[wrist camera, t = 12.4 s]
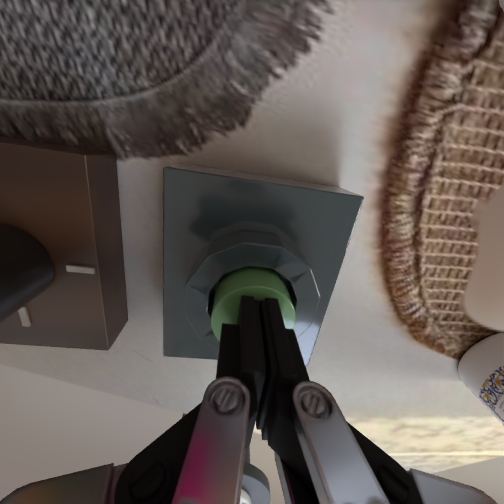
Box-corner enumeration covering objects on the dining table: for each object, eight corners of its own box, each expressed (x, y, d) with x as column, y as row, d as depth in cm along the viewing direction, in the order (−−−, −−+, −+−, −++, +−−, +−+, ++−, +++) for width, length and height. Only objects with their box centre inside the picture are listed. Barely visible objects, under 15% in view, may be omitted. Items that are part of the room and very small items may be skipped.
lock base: (128, 320, 18) (107, 352, 15) (-1, 309, 17) (-49, 342, 14) (116, 153, 13) (82, 154, 11) (-63, 126, 12) (-153, 119, 10)
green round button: (280, 329, 14) (286, 357, 12) (211, 323, 13) (207, 351, 12) (295, 269, 12) (305, 291, 10) (218, 260, 12) (214, 281, 10)
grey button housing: (297, 333, 20) (315, 390, 15) (174, 323, 19) (154, 381, 14) (340, 187, 15) (385, 204, 10) (178, 162, 14) (149, 169, 9)
